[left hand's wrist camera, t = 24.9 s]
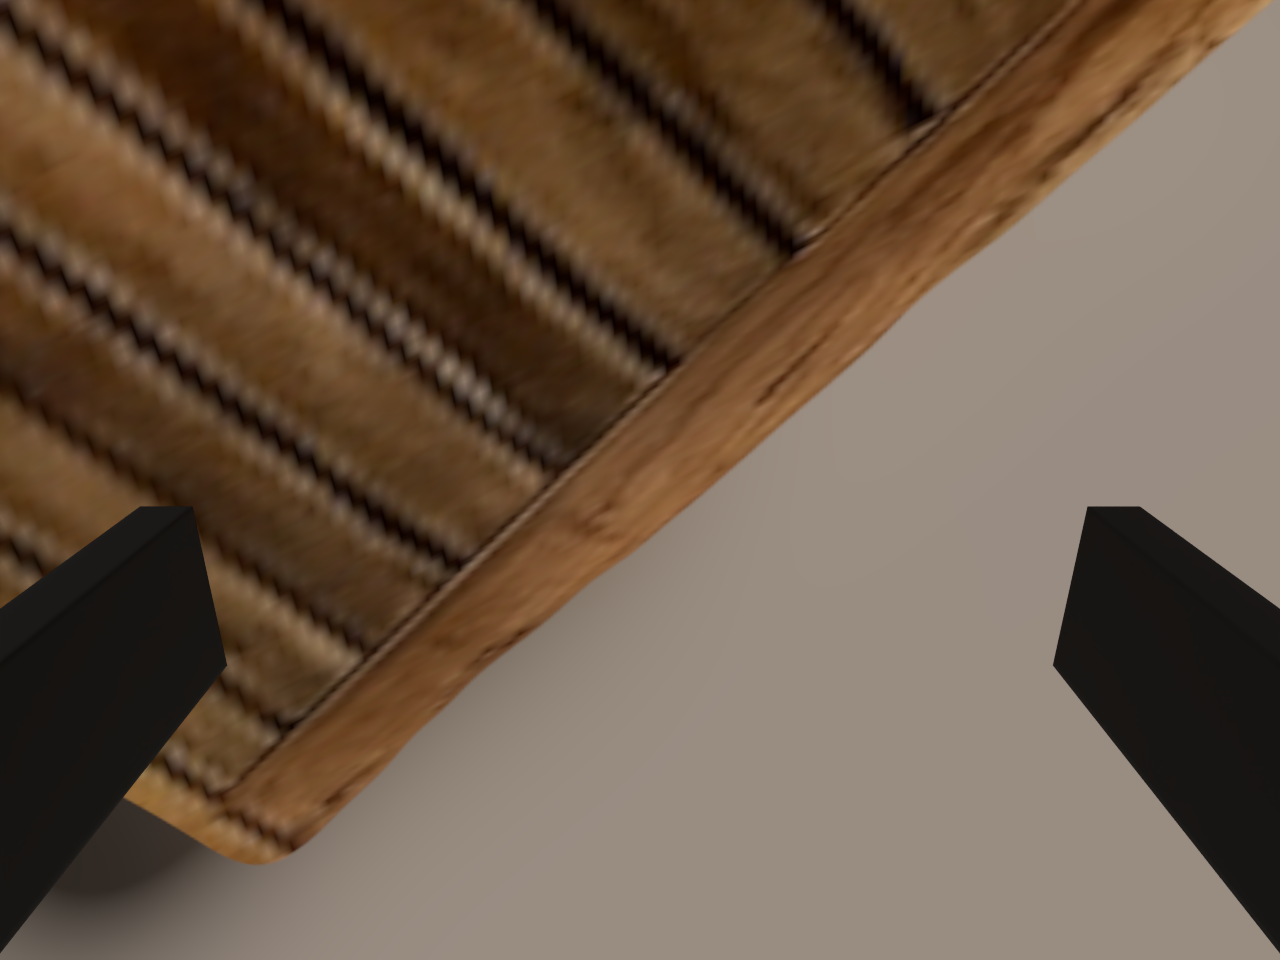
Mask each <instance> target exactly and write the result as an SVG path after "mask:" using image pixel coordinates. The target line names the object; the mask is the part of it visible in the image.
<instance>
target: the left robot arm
mask: <svg viewBox="0 0 1280 960" xmlns="http://www.w3.org/2000/svg"><path fill="white" fill-rule="evenodd" d="M226 666H227V663H226V658H225V654H224V649H223V644H222V640H221V635H220V631H219V626H218V621H217V617H216V612H215V608H214V603H213V599H212V594H211V589H210V585H209V580H208V576H207V571H206V566H205V562H204V557H203V553H202V548H201V544H200V539H199V534H198V530H197V525H196V521H195V516H194V511H193V507H139V508H138V509H136V510H135V511H133V512H132V513H131V514H129V515H128V516H127V517H125V518H124V519H122V520H121V521H120V522H118V523H117V524H116V525H114V526H113V527H111V528H110V529H109V530H107V531H106V532H105V533H103V534H102V535H101V536H99V537H98V538H96V539H95V540H94V541H92V542H91V543H90V544H88V545H87V546H85V547H84V548H83V549H81V550H80V551H79V552H77V553H76V554H75V555H73V556H72V557H70V558H69V559H68V560H66V561H65V562H64V563H62V564H61V565H59V566H58V567H57V568H55V569H54V570H53V571H51V572H50V573H48V574H47V575H46V576H44V577H43V578H42V579H40V580H39V581H38V582H36V583H35V584H33V585H32V586H31V587H29V588H28V589H27V590H25V591H24V592H22V593H21V594H20V595H18V596H17V597H16V598H14V599H13V600H12V601H10V602H9V603H7V604H6V605H5V606H3V607H2V608H1V609H0V953H1V951H2V950H3V949H4V948H5V946H6V945H7V944H8V943H9V941H10V940H11V939H12V938H13V936H14V935H15V934H16V932H17V931H18V930H19V929H20V927H21V926H22V925H23V924H24V922H25V921H26V920H27V918H28V917H29V916H30V915H31V913H32V912H33V911H34V910H35V908H36V907H37V906H38V905H39V903H40V902H41V901H42V899H43V898H44V897H45V896H46V894H47V893H48V892H49V891H50V889H51V888H52V887H53V885H54V884H55V883H56V882H57V880H58V879H59V878H60V877H61V875H62V874H63V873H64V872H65V870H66V869H67V868H68V866H69V865H70V864H71V863H72V861H73V860H74V859H75V858H76V856H77V855H78V854H79V853H80V851H81V850H82V849H83V847H84V846H85V845H86V844H87V842H88V841H89V840H90V839H91V837H92V836H93V835H94V833H95V832H96V831H97V830H98V828H99V827H100V826H101V825H102V823H103V822H104V821H105V819H106V818H107V817H108V816H109V814H110V813H111V812H112V811H113V809H114V808H115V807H116V806H117V804H118V803H119V802H120V801H121V799H122V798H123V797H124V795H125V794H126V793H127V792H128V790H129V789H130V788H131V787H132V785H133V784H134V783H135V782H136V780H137V779H138V778H139V776H140V775H141V774H142V773H143V771H144V770H145V769H146V768H147V766H148V765H149V764H150V762H151V761H152V760H153V759H154V757H155V756H156V755H157V754H158V752H159V751H160V750H161V749H162V747H163V746H164V745H165V743H166V742H167V741H168V740H169V738H170V737H171V736H172V735H173V733H174V732H175V731H176V730H177V728H178V727H179V726H180V724H181V723H182V722H183V721H184V719H185V718H186V717H187V716H188V714H189V713H190V712H191V710H192V709H193V708H194V707H195V705H196V704H197V703H198V702H199V700H200V699H201V698H202V697H203V695H204V694H205V693H206V691H207V690H208V689H209V688H210V686H211V685H212V684H213V683H214V681H215V680H216V679H217V677H218V676H219V675H220V674H221V672H222V671H223V670H224V669H225V667H226ZM1053 666H1054V667H1055V669H1056V670H1057V671H1058V672H1059V674H1060V675H1061V676H1062V677H1063V679H1064V680H1065V681H1066V683H1067V684H1068V685H1069V686H1070V688H1071V689H1072V690H1073V691H1074V693H1075V694H1076V695H1077V696H1078V698H1079V699H1080V700H1081V702H1082V703H1083V704H1084V705H1085V707H1086V708H1087V709H1088V710H1089V712H1090V713H1091V714H1092V716H1093V717H1094V718H1095V719H1096V721H1097V722H1098V723H1099V724H1100V726H1101V727H1102V728H1103V729H1104V731H1105V732H1106V733H1107V735H1108V736H1109V737H1110V738H1111V740H1112V741H1113V742H1114V743H1115V745H1116V746H1117V747H1118V749H1119V750H1120V751H1121V752H1122V754H1123V755H1124V756H1125V757H1126V759H1127V760H1128V761H1129V762H1130V764H1131V765H1132V766H1133V768H1134V769H1135V770H1136V771H1137V773H1138V774H1139V775H1140V776H1141V778H1142V779H1143V780H1144V782H1145V783H1146V784H1147V785H1148V787H1149V788H1150V789H1151V790H1152V792H1153V793H1154V794H1155V795H1156V797H1157V798H1158V799H1159V801H1160V802H1161V803H1162V804H1163V806H1164V807H1165V808H1166V809H1167V811H1168V812H1169V813H1170V814H1171V816H1172V817H1173V818H1174V820H1175V821H1176V822H1177V823H1178V825H1179V826H1180V827H1181V828H1182V830H1183V831H1184V832H1185V833H1186V835H1187V836H1188V837H1189V839H1190V840H1191V841H1192V842H1193V844H1194V845H1195V846H1196V847H1197V849H1198V850H1199V851H1200V853H1201V854H1202V855H1203V856H1204V858H1205V859H1206V860H1207V861H1208V863H1209V864H1210V865H1211V866H1212V868H1213V869H1214V870H1215V872H1216V873H1217V874H1218V875H1219V877H1220V878H1221V879H1222V880H1223V882H1224V883H1225V884H1226V885H1227V887H1228V888H1229V889H1230V891H1231V892H1232V893H1233V894H1234V896H1235V897H1236V898H1237V899H1238V901H1239V902H1240V903H1241V904H1242V906H1243V907H1244V908H1245V910H1246V911H1247V912H1248V913H1249V915H1250V916H1251V917H1252V919H1253V920H1254V921H1255V922H1256V924H1257V925H1258V926H1259V927H1260V929H1261V930H1262V931H1263V932H1264V934H1265V935H1266V936H1267V938H1268V939H1269V940H1270V941H1271V943H1272V944H1273V945H1274V946H1275V948H1276V949H1277V950H1278V951H1279V953H1280V609H1279V608H1278V607H1277V606H1275V605H1274V604H1273V603H1271V602H1270V601H1268V600H1267V599H1266V598H1264V597H1263V596H1262V595H1260V594H1259V593H1258V592H1256V591H1255V590H1253V589H1252V588H1251V587H1249V586H1248V585H1247V584H1245V583H1244V582H1242V581H1241V580H1240V579H1238V578H1237V577H1236V576H1234V575H1233V574H1231V573H1230V572H1229V571H1227V570H1226V569H1225V568H1223V567H1222V566H1221V565H1219V564H1218V563H1216V562H1215V561H1214V560H1212V559H1211V558H1210V557H1208V556H1207V555H1205V554H1204V553H1203V552H1201V551H1200V550H1199V549H1197V548H1196V547H1194V546H1193V545H1192V544H1190V543H1189V542H1188V541H1186V540H1185V539H1184V538H1182V537H1181V536H1179V535H1178V534H1177V533H1175V532H1174V531H1173V530H1171V529H1170V528H1169V527H1167V526H1166V525H1164V524H1163V523H1162V522H1160V521H1159V520H1157V519H1156V518H1155V517H1153V516H1152V515H1151V514H1149V513H1148V512H1147V511H1145V510H1144V509H1142V508H1141V507H1087V511H1086V516H1085V521H1084V525H1083V530H1082V534H1081V539H1080V544H1079V548H1078V553H1077V557H1076V562H1075V567H1074V571H1073V576H1072V580H1071V585H1070V590H1069V594H1068V599H1067V603H1066V608H1065V612H1064V617H1063V621H1062V626H1061V631H1060V635H1059V640H1058V645H1057V649H1056V654H1055V658H1054V663H1053Z"/></svg>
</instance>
